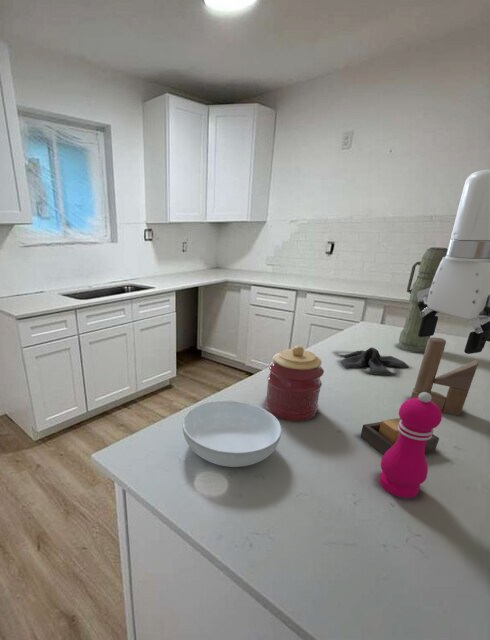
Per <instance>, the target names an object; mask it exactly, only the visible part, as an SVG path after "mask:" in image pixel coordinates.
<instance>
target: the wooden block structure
mask: <svg viewBox="0 0 490 640" xmlns="http://www.w3.org/2000/svg"><path fill="white" fill-rule="evenodd" d="M446 345H447V340H446V339H444V338H441V337H434V336H432V337H430V338H429V339H428V342H427V346H426V349H425V352H423V353H424V354H423V356H422V360H421V363H420V367H419V370H418V374H417V377H416V380H415V385H414V387H413V388H412V392H411V394H410V398H409V399H412V398H418V397H419V394H420V393H422V392H427V393H429V394H430V395H431V397H432V398H431V400H430V401H432V402H433V403H435V404H436V405H437V406H438V407H439V408H440V410H441V412H442V413H447V414H451V415H454V416H455V415H456V416H460V415H461V414H462V411H463V408H464V406H465V402H466V400H467V397H468V394H469V391H470V388H471V386H472V383H473V380H474V377H475V375H476V372H477V369H478V366H479V359H475V360H473V361H471V362H470V361H469V362H468V363H466V364H464V365H461V366H459V367H457V368H455V369H451V370H450V371H447V372H445V373H443V374H441V375H438V376H437V373H438V370H439V366H440V364H441V360H442V357H443V354H444V351H445V348H446ZM434 384H435V385H440V386H445V387H448V390H447V393H446V396H445V395H443V394H442V393H440V392H437V391H432V389H433V386H434Z"/></svg>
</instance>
